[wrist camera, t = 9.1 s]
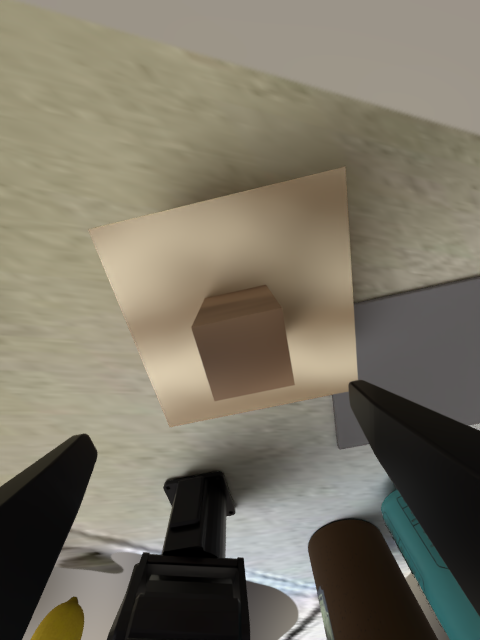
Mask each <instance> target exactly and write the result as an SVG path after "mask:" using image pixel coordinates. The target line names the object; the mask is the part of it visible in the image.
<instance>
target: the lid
mask: <svg viewBox="0 0 480 640" xmlns="http://www.w3.org/2000/svg"><path fill="white" fill-rule="evenodd" d="M88 231H89V233H90V235H91V238H92V240H93V243H94V245H95V248H96V250H97V252H98V255H99V257H100V260H101V262H102V265H103V267H104V269H105V272H106V274H107V277H108V279H109V281H110V284H111V286H112V289H113V291H114V294H115V296H116V298H117V301H118V303H119V306H120V308H121V311H122V313H123V315H124V318H125V320H126V323H127V325H128V327H129V330H130V332H131V335H132V337H133V340H134V342H135V344H136V347H137V349H138V352H139V354H140V357H141V359H142V361H143V364H144V366H145V369H146V371H147V373H148V376H149V378H150V381H151V383H152V386H153V388H154V390H155V393H156V395H157V398H158V400H159V403H160V405H161V407H162V410H163V412H164V415H165V417H166V419H167V422H168V424H169V427H173V426H178V425H183V424H188V423H193V422H198V421H203V420H208V419H213V418H218V417H223V416H228V415H233V414H238V413H243V412H248V411H253V410H258V409H263V408H268V407H273V406H278V405H283V404H288V403H293V402H298V401H303V400H308V399H313V398H318V397H323V396H328V395H333V394H338V393H343V392H348V391H349V388H348V385H349V382H351V381H355V380H358V372H357V355H356V338H355V321H354V304H353V287H352V269H351V252H350V235H349V218H348V201H347V184H346V167H341V168H337V169H333V170H329V171H324V172H320V173H316V174H312V175H308V176H304V177H300V178H296V179H292V180H288V181H284V182H279V183H275V184H271V185H267V186H263V187H259V188H255V189H251V190H247V191H243V192H238V193H234V194H230V195H226V196H222V197H218V198H214V199H210V200H206V201H202V202H198V203H193V204H189V205H185V206H181V207H177V208H173V209H169V210H165V211H161V212H157V213H153V214H148V215H144V216H140V217H136V218H132V219H128V220H124V221H120V222H116V223H112V224H108V225H103V226H99V227H95V228H91V229H88Z"/></svg>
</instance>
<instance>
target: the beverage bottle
mask: <svg viewBox="0 0 480 640" xmlns="http://www.w3.org/2000/svg"><path fill="white" fill-rule="evenodd" d="M381 511H382V514H383V518H384V520H385V524H387V526H388V527H387V528H388V530H389V529H390V531H391V532H390V531H389V532H390V535H391V534H392V535H393V537H392V538H393V539H394V540H395V543H396V544H397V546H398V547H397V548H398V549H399V550H400V552H401V553H402V556H403V557H404V559H405V561H406V563H407V565H408V567H409V568H410V570H411V573H412V574H414V575H415V577H416V579H417V581H418V583H419V584H418V585H420V586H421V589H422V590H423V592H424V594H425V596H426V599H427V600H428V601H429V603H430V605H431V607H432V608H433V610H434V612H435V614H436V616H437V618H438V619H439V621H440V623H441V625H442V626H443V628H444V630H445V632H446V633H447V635H448V636H449V639H450V640H480V617H479V615H478V614H477V612H476V610H475V609H474V607H473V606H472V604H471V603H470V601H469V600H468V598H467V597H466V595H465V593H464V592H463V590H462V589H461V587H460V586H459V584H458V583H457V581H456V580H455V578H454V576H453V575H452V573H451V572H450V570H449V569H448V567H447V566H446V564H445V563H444V561H443V559H442V558H441V556H440V555H439V553H438V552H437V550H436V549H435V547H434V546H433V544H432V542H431V541H430V539H429V538H428V536H427V535H426V533H425V532H424V530H423V529H422V527H421V525H420V524H419V522H418V521H417V519H416V518H415V516H414V515H413V513H412V511H411V510H410V508H409V507H408V505H407V504H406V502H405V501H404V499H403V498H402V496H401V494H400V493H399V491H398V490H395V491H393V492H392V493H391V494H389V495H388V496H387V497H386V498H385V500H384V501H383V503H382V506H381ZM384 520H383V521H384ZM415 577H414V578H415Z"/></svg>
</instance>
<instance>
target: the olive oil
mask: <svg viewBox="0 0 480 640" xmlns="http://www.w3.org/2000/svg"><path fill="white" fill-rule="evenodd" d="M308 552H309V557H310V562H311V566H312V571H313V575H314V580H315V584H316V589H317V595H318V599H319V604H320V608H321V613H322V618H323V623H324V628H325V632H326V637H327V640H438V639H437V637H436V635H435V633H434V631H433V630H432V628H431V626H430V624H429V622H428V620H427V618H426V616H425V615H424V613H423V611H422V609H421V607H420V605H419V604H418V602H417V600H416V598H415V596H414V594H413V593H412V591H411V589H410V587H409V585H408V583H407V581H406V579H405V577H404V575H403V574H402V572H401V570H400V568H399V566H398V564H397V562H396V560H395V558H394V556H393V555H392V553H391V551H390V549H389V547H388V545H387V543H386V541H385V539H384V538H383V536H382V534H381V532H380V531H379V529H378V528H377V527H376V526H374V525H373V524H371V523H369V522H366V521H362V520H354V519H350V520H341V521H337V522H333V523H331V524H328V525H326V526H324V527H322V528H321V529H319V530H318V531H317V532H316V533H315V534H314V535H313V536H312V538H311V539H310V541H309V544H308Z"/></svg>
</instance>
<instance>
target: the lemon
mask: <svg viewBox="0 0 480 640" xmlns="http://www.w3.org/2000/svg"><path fill="white" fill-rule="evenodd" d="M83 627H84V613H83V610H82V608H81V606H80V605H79V604H78V599H77V597H72V598H71V599H70V600H68V601H67V602H65V603H62V604H60V605H58V606H57V607H55V608H54V609H53V610H52V611H50V612H49V614H48V615H47V616H46V617H45V618H44V619H43V621H42V622H41V623H40V625H39V626H38V628H37V629H36V631H35V633H34V634H33V636H32V638H31V640H81V636H82V632H83Z"/></svg>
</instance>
